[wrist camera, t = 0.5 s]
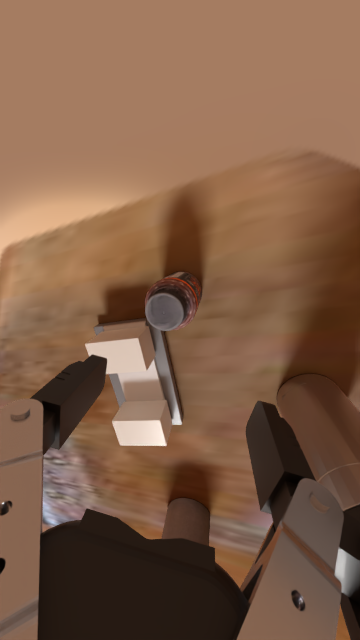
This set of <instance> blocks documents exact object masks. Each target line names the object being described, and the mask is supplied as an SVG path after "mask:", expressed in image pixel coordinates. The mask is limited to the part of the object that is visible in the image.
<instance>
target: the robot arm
mask: <svg viewBox="0 0 360 640" xmlns="http://www.w3.org/2000/svg"><path fill="white" fill-rule="evenodd" d="M106 368H107V358H104V357H101V356H97V355H93V354H92V355H91V356H90V357H88V358H87V359H86V360H85V361H84V362H81V361H78V362H75V363H73V364H71V365H69V366H68V367H66V368H65V369H64V370H63V371H62V372H61V373H59V374H58V375H57V376H56V377H55V378H53V379H52V380H51V381H50V382H49V383H48V384H46V385H45V386H44V387H43V388H42V389H40V390H39V391H38V392H37V393H36V394H35V395H33V396H32V397H31V398H30V399H20V400H16V401H13V402H11V403H9V404H7V405H5V406H4V407H3V408H1V409H0V640H335V639H336V632H337V624H338V617H339V609H340V605H341V609H342V612H343V616H344V619H345V622H346V626H347V629H348V632H349V635H350V639H351V640H360V412H359V411H358V410H357V408H356V407H355V406H354V405H353V404H352V402H351V401H350V400H349V399H348V398H347V396H346V395H345V394H344V393H343V392H342V390H341V389H340V388H339V387H338V386H337V385H336V384H335V383H334V382H333V381H332V380H331V379H329V378H327V377H325V376H322V375H317V374H303V375H298V376H296V377H293V378H291V379H290V380H288V381H286V382H285V383H284V384H283V385H282V387H281V388H280V389H279V392H278V394H277V404H278V407H279V410H280V412H281V415H282V418H281V417H280V416H279V413H278V411H277V408H276V406H275V405H273V404H270V403H266V402H262V401H258V402H257V403H256V405H255V407H254V409H253V412H252V414H251V416H250V418H249V420H248V423H247V426H246V438H247V443H248V449H249V454H250V459H251V464H252V469H253V474H254V479H255V484H256V489H257V494H258V500H259V505H260V510H261V511H263V512H266V513H269V514H272V518H273V523H272V525H271V526H270V528H269V530H268V533H267V535H266V537H265V539H264V541H263V543H262V545H261V547H260V550H259V552H258V554H257V556H256V558H255V560H254V562H253V565H252V567H251V569H250V571H249V573H248V575H247V576H246V578H245V580H244V582H243V583H242V585H241V587H240V588H239V587H238V585H237V584H236V583H235V581H234V580H233V579H232V578H231V577H230V575H229V574H228V573H227V572H226V571H225V570H224V569H223V568H222V567H221V566H219V565H218V564H217V563H215V548H213V547H210V546H207V545H203V544H200V543H197V542H194V541H191V540H187V539H184V538H173V539H153V540H150V539H146V538H144V537H143V536H142V535H140V534H139V533H137V532H136V531H135V530H133V529H132V528H131V527H129V526H128V525H127V524H125V523H124V522H122V521H121V520H120V519H118V518H116V517H113V516H110V515H106V514H103V513H100V512H97V511H93V510H90V509H86V511H85V513H84V516H83V518H82V520H75V521H70V522H66V523H62V524H59V525H57V526H55V527H52V528H50V529H48V530H46V531H45V532H43V533H42V510H43V455H44V454H45V453H46V452H47V450H48V449H49V448H50V447H51V448H55V449H58V450H59V449H60V448H61V446H62V445H63V444H64V442H65V441H66V440H67V438H68V437H69V436H70V434H71V433H72V432H73V430H74V429H75V427H76V426H77V425H78V423H79V422H80V421H81V419H82V418H83V417H84V415H85V414H86V412H87V411H88V410H89V408H90V407H91V406H92V404H93V403H94V402H95V400H96V399H97V398H98V396H99V395H100V393H101V391H102V389H103V387H104V383H105V376H106Z"/></svg>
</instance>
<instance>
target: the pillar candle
mask: <svg viewBox="0 0 360 640" xmlns="http://www.w3.org/2000/svg"><path fill="white" fill-rule="evenodd" d="M209 529H210V514H209V512H208V510H207V509H206V507H205V506H203V505H202V504H201V503H200V502H198V501H195V500H192V499H188V498H179V499H175V500H173V501H171V503H170V504H169V506H168V510H167V515H166V519H165V524H164V529H163V534H162V539H173V538H184V539H187V540H191V541H194V542H197V543H200V544H203V545H207V546H209Z"/></svg>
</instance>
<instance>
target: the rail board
mask: <svg viewBox="0 0 360 640" xmlns="http://www.w3.org/2000/svg"><path fill="white" fill-rule="evenodd" d="M94 330H95V333H96V336H95V337H94V338H92V339H91V340H90V341H88V342H87V343H85V346H86V348H87V351H88V354H89V357H90V356H91V355H92V354H93V355H97V356H101V357H104V358H107V368H106V374H109V376H110V379H111V382H112V385H113V388H114V391H115V394H116V397H117V400H118V404H119V407H120V409H119V410H118V412H117V414H116V415H115V417H114V418H113V420H112V423H113V426H114V429H115V432H116V434H117V437H118V440H119V443H120V445H135V446H167V442H168V438H169V435H170V431H171V427H172V425H180V424H182V421H183V415H182V411H181V406H180V402H179V397H178V393H177V388H176V384H175V379H174V375H173V370H172V366H171V361H170V357H169V352H168V348H167V343H166V339H165V334H164V331H162V330H159V329H156V328H155V327H153V326H152V325H151V324H150V323H149V321H148V320H147V318H141V319H134V320H126V321H118V322H111V323H103V324H98V325H96V326H95V327H94Z"/></svg>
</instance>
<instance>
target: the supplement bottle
mask: <svg viewBox="0 0 360 640" xmlns="http://www.w3.org/2000/svg"><path fill="white" fill-rule="evenodd" d="M201 297H202V288H201V285H200V283H199V281H198V280H197V278H196V277H195V276H193V275H192V274H190V273H188V272H175V273H173V274H171V275H169V276H167V277H165V278H163V279H161V280H160V281H158V282H156V283H155V284H154V285H153V286H152V287H151V288H150V289H149V291H148V292H147V295H146V298H145V314H146V318H147V320H148V321H149V323H150V324H151V325H152V326H153V327H155V328H156V329H159V330H162V331H169V330H177V329H181V328H183V327H185V326H186V325H188V324H189V323H190V322H191V321H192V319H193V318H194V316H195V314H196V311H197V308H198V305H199V303H200V300H201Z"/></svg>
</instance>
